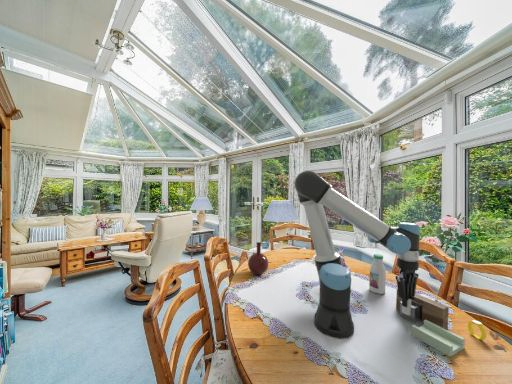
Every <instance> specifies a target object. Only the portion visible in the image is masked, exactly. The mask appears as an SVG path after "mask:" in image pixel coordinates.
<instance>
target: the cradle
mask: <svg viewBox="0 0 512 384" xmlns="http://www.w3.org/2000/svg"><path fill="white" fill-rule="evenodd" d="M410 329H411V331H410V333H411V336H413V337H414V338H417V339H418V340H420V341H421V342H423V343H425V344H427V345H428V346H430V347H432V348H434V349H435V350H436V351H438V352H441V353H442V354H444V355H446V356H448V357H450V358H451V357H453V356H454V355H456V354H458V353H459V352H461V351H462V350H464V349H465V345H466V342H465V341H466V338H465V337H462V336H461V335H459V334H457V333H454V332H452V331H450V330H448V329H447V330H446V329H444V328H442V327H440V326H438V325H436V324H434V323H432V322H430V321H428V320H424V322H423V325H421V326H417V325H415V324H412V325H411V328H410Z"/></svg>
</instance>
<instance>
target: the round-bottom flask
mask: <svg viewBox="0 0 512 384" xmlns="http://www.w3.org/2000/svg"><path fill="white" fill-rule="evenodd" d="M261 249H262V242H259V241H258V242H256V252H255V253H252V255H250V256H249V258H248V262H247V266H248V269H249V271H250V272H251V273H252V274H255V275H262V274H264V273H266V271H267V270H268V268H269V259H268V258H267V256H266V255H265V254H263V253H261V251H262V250H261Z"/></svg>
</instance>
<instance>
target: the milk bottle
mask: <svg viewBox="0 0 512 384" xmlns="http://www.w3.org/2000/svg"><path fill="white" fill-rule="evenodd" d="M383 261H384V255H382V254H378V253H377V254H376V253H375V254H373V262H372V264H371V265H370V269H369V283H368V285H369V286H368V287H369V291H370V292H372V293H375V294H379V295H383V294H386V280H387V279H386V277H387V271H386V266H385V265H384V262H383Z"/></svg>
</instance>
